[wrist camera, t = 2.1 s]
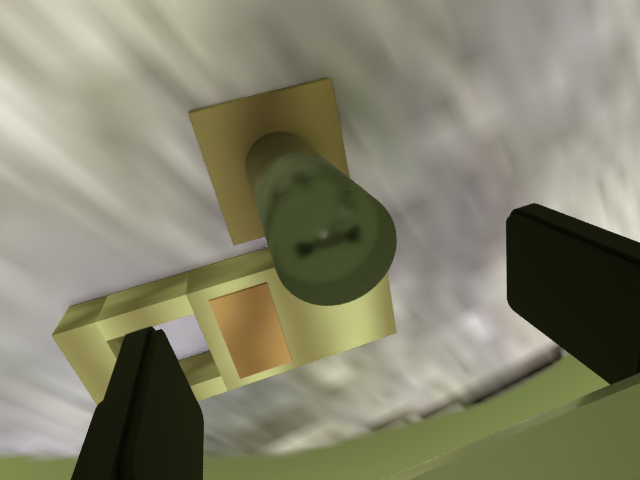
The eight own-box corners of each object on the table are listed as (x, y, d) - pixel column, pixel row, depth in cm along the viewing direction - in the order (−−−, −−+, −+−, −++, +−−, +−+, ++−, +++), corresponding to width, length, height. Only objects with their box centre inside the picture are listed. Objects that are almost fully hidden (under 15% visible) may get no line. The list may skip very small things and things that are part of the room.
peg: (305, 123, 22) (388, 173, 12) (319, 189, 24) (403, 284, 13) (236, 141, 22) (258, 210, 11) (256, 207, 24) (291, 321, 13)
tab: (324, 78, 23) (331, 78, 22) (348, 202, 27) (355, 209, 25) (189, 110, 22) (188, 113, 21) (232, 236, 26) (233, 245, 24)
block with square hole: (365, 218, 27) (382, 235, 25) (380, 310, 31) (397, 334, 28) (69, 306, 25) (50, 338, 22) (122, 396, 28) (112, 432, 25)
